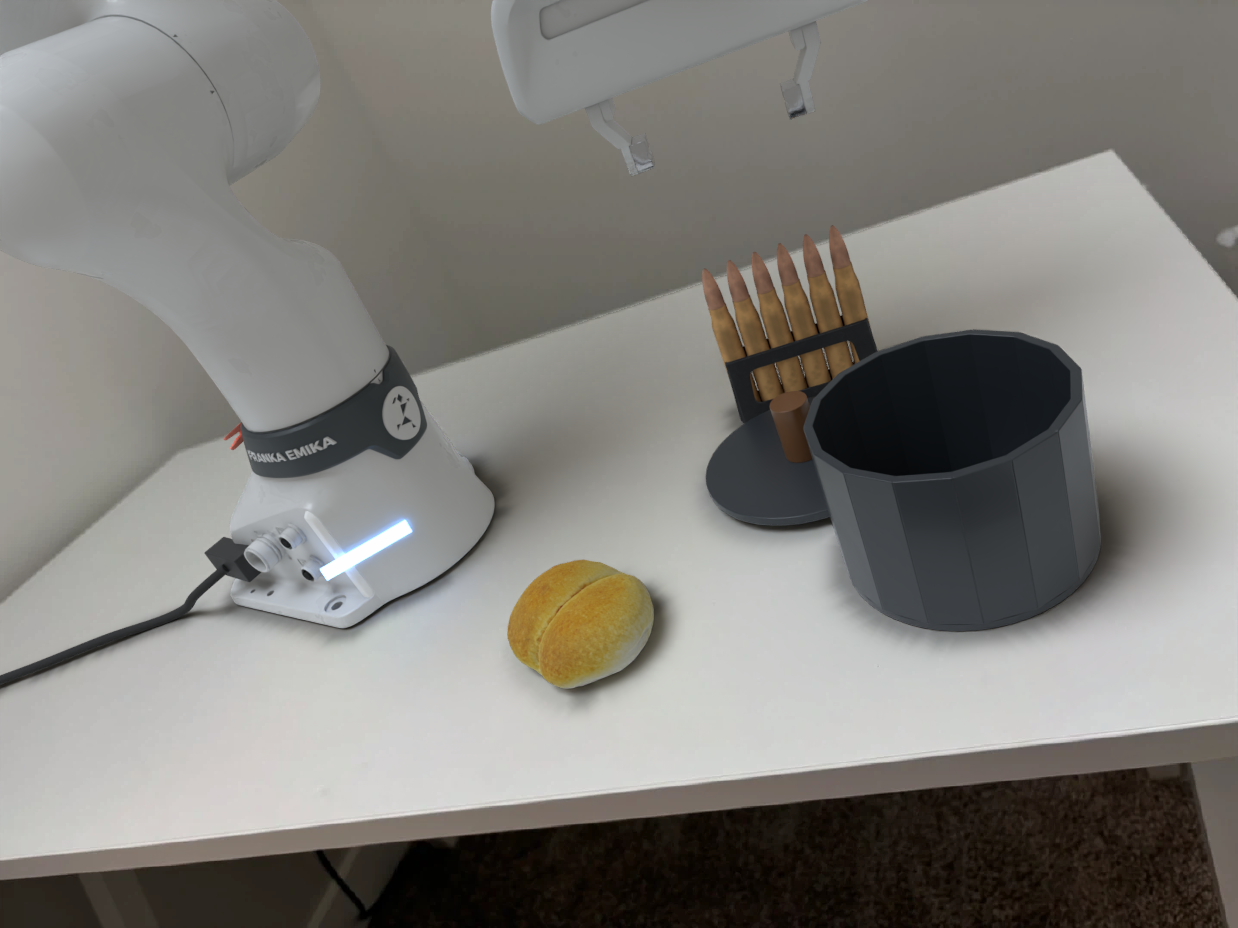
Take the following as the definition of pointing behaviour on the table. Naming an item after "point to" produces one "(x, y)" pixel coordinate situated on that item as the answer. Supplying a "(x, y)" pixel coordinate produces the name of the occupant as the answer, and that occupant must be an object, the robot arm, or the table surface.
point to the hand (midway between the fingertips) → (721, 142)
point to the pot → (960, 478)
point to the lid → (769, 468)
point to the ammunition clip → (783, 341)
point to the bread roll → (580, 623)
